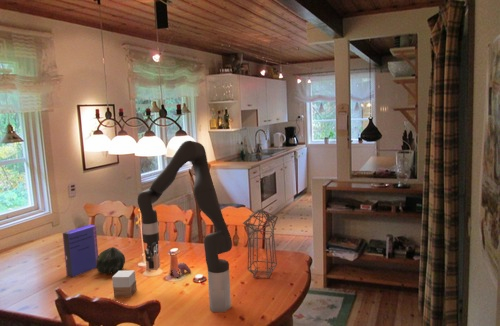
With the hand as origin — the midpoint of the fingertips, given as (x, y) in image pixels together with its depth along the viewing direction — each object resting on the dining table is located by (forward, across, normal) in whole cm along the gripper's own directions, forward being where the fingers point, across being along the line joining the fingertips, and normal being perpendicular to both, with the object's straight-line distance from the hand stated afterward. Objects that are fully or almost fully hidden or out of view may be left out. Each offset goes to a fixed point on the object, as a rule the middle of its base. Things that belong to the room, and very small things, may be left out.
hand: (153, 266), depth 196 cm
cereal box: (+12, +28, +49) cm, 58 cm away
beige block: (+1, 0, 0) cm, 1 cm away
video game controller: (+13, +21, -8) cm, 25 cm away
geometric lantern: (+13, +17, -51) cm, 55 cm away
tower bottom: (+13, -2, +14) cm, 19 cm away
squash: (+12, +26, +32) cm, 43 cm away
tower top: (+8, -2, +14) cm, 16 cm away
